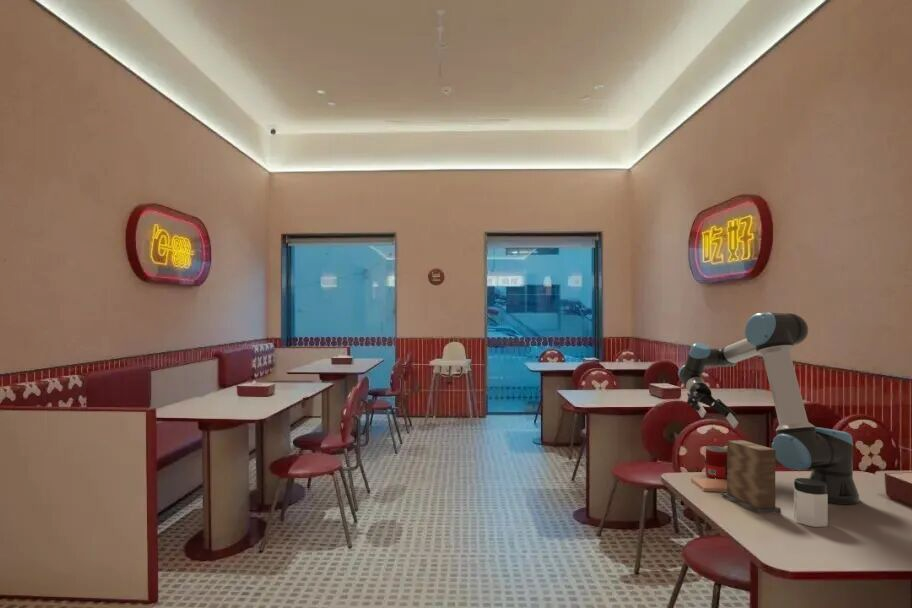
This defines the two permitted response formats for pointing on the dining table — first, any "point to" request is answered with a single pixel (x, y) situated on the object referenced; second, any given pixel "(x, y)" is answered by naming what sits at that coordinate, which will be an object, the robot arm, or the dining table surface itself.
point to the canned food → (716, 462)
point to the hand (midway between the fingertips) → (719, 420)
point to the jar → (810, 502)
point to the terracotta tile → (710, 484)
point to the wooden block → (751, 476)
